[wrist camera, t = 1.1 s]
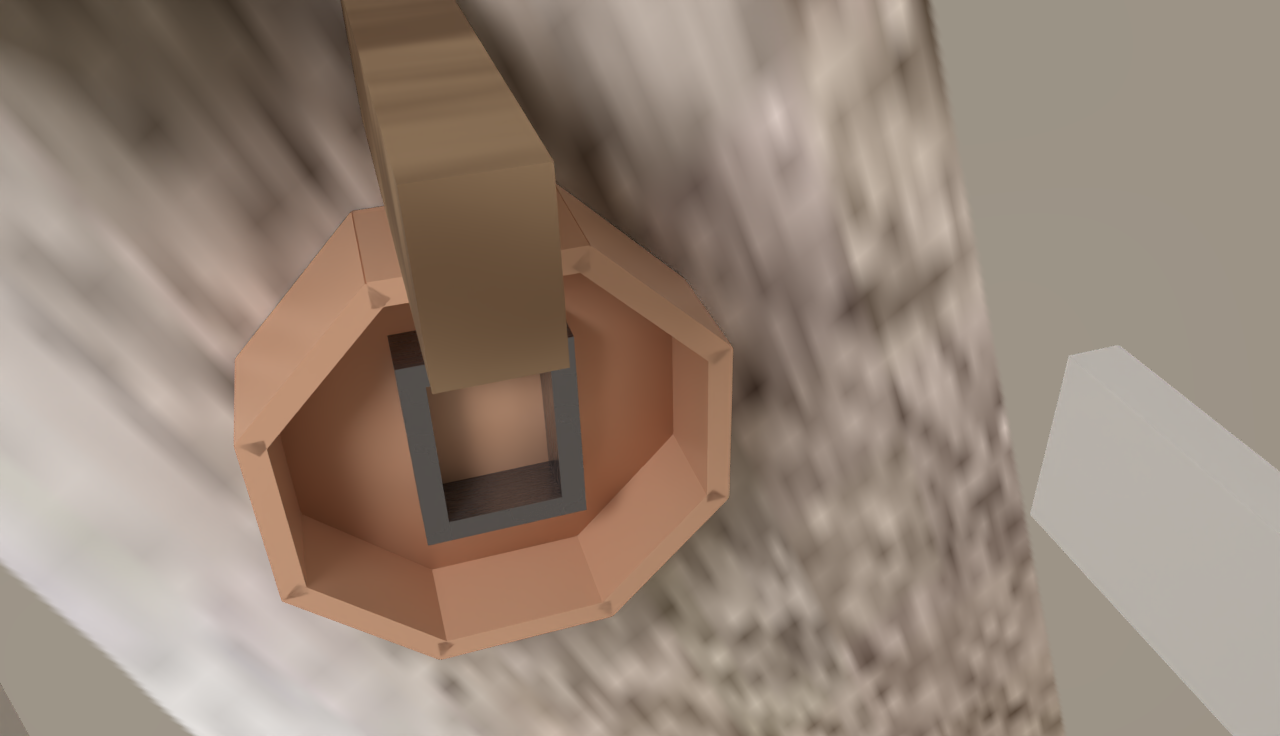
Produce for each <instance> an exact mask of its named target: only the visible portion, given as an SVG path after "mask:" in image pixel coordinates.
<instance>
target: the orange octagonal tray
mask: <svg viewBox="0 0 1280 736" xmlns="http://www.w3.org/2000/svg"><path fill="white" fill-rule="evenodd" d="M556 194H557V207H558V220H559V233H560V246H561V259H562V272H563V285H564V298H565V310H566V321H567V324H568V326H569V328H570V330H571V332H572V334H573V336H574V345H575V359H576V372H577V386H578V399H579V413H580V427H581V440H582V454H583V467H584V481H585V494H586V508H587V510H584V511H579V512H575V513H570V514H566V515H561V516H557V517H553V518H548V519H544V520H539V521H535V522H531V523H526V524H522V525H517V526H513V527H509V528H504V529H500V530H495V531H491V532H486V533H482V534H478V535H473V536H469V537H464V538H460V539H456V540H451V541H447V542H442V543H438V544H433V545H429V546H428V543H427V539H426V534H425V529H424V524H423V519H422V514H421V510H420V505H419V499H418V494H417V489H416V484H415V478H414V473H413V468H412V463H411V458H410V452H409V447H408V442H407V437H406V431H405V426H404V421H403V416H402V410H401V405H400V400H399V395H398V390H397V384H396V379H395V374H394V369H393V363H392V358H391V353H390V348H389V342H388V337H387V335H393V334H398V333H404V332H409V331H415V330H416V328H415V324H414V321H413V317H412V313H411V309H410V305H409V301H408V297H407V293H406V289H405V285H404V281H403V277H402V273H401V270H400V266H399V262H398V258H397V254H396V250H395V246H394V242H393V238H392V234H391V230H390V226H389V222H388V219H387V215H386V211H385V207H384V206H381V207H374V208H368V209H361V210H355V211H352V212H353V213H352V212H350V213H349V215H348V216H347V217H346V219H345V220H344V221H343V222H342V224H341V225H340V226H339V227H338V229H337V230H336V231H335V232H334V234H333V235H332V236H331V238H330V239H329V240H328V241H327V243H326V244H325V245H324V246H323V248H322V249H321V250H320V252H319V253H318V254H317V255H316V257H315V258H314V259H313V260H312V262H311V263H310V264H309V266H308V267H307V268H306V269H305V271H304V272H303V273H302V274H301V276H300V277H299V278H298V279H297V281H296V282H295V283H294V285H293V286H292V287H291V288H290V290H289V291H288V292H287V293H286V295H285V296H284V297H283V299H282V300H281V301H280V302H279V304H278V305H277V306H276V307H275V309H274V310H273V311H272V312H271V314H270V315H269V316H268V318H267V319H266V320H265V321H264V323H263V324H262V325H261V326H260V328H259V329H258V330H257V332H256V333H255V334H254V335H253V337H252V338H251V339H250V340H249V342H248V343H247V344H246V346H245V347H244V348H243V349H242V351H241V352H240V353H239V354H238V356H237V357H236V358H235V396H234V449H235V452H236V455H237V458H238V461H239V465H240V468H241V471H242V474H243V478H244V481H245V484H246V487H247V491H248V494H249V497H250V500H251V503H252V507H253V510H254V513H255V516H256V520H257V523H258V526H259V529H260V533H261V536H262V539H263V542H264V545H265V549H266V552H267V555H268V558H269V562H270V565H271V568H272V571H273V575H274V578H275V581H276V584H277V587H278V591H279V594H280V597H281V600H282V602H285V603H288V604H291V605H293V606H296V607H299V608H301V609H304V610H307V611H309V612H312V613H315V614H318V615H320V616H323V617H326V618H328V619H331V620H334V621H336V622H339V623H342V624H345V625H347V626H350V627H353V628H355V629H358V630H361V631H363V632H366V633H369V634H372V635H374V636H377V637H380V638H382V639H385V640H388V641H390V642H393V643H396V644H399V645H401V646H404V647H407V648H409V649H412V650H415V651H417V652H420V653H423V654H426V655H428V656H431V657H434V658H436V659H439V660H440V659H441V660H442V659H446V658H450V657H454V656H458V655H462V654H466V653H470V652H474V651H478V650H482V649H486V648H489V647H493V646H497V645H501V644H505V643H509V642H513V641H517V640H521V639H525V638H529V637H533V636H537V635H541V634H545V633H549V632H553V631H557V630H561V629H565V628H569V627H573V626H577V625H581V624H585V623H589V622H593V621H597V620H601V619H605V618H609V617H612V616H614V615H615V614H616V612H617V611H618V610H619V609H620V608H621V607H622V606H623V605H624V604H625V603H626V602H627V601H628V600H629V599H630V598H631V597H632V596H633V595H634V594H635V593H636V592H637V591H638V590H639V589H640V588H641V587H642V586H643V585H644V584H645V583H646V582H647V581H648V580H649V579H650V578H651V577H652V576H653V575H654V574H655V573H656V572H657V571H658V570H659V569H660V568H661V567H662V566H663V565H664V564H665V563H666V562H667V561H668V560H669V559H670V558H671V556H672V555H673V554H674V553H675V552H676V551H677V550H678V549H679V548H680V547H681V546H682V545H683V544H684V543H685V542H686V541H687V540H688V539H689V538H690V537H691V536H692V535H693V534H694V533H695V532H696V531H697V530H698V529H699V528H700V527H701V526H702V525H703V524H704V523H705V522H706V521H707V520H708V519H709V518H710V517H711V516H712V515H713V514H714V513H715V512H716V511H717V510H718V509H719V508H720V507H721V506H722V505H723V504H724V503H725V502H726V500H727V499H728V497H729V487H730V450H731V413H732V376H733V347H732V345H731V344H730V342H729V341H728V340H727V338H726V337H725V335H724V334H723V333H722V331H721V330H720V328H719V327H718V326H717V324H716V323H715V321H714V320H713V318H712V317H711V316H710V314H709V313H708V311H707V310H706V309H705V307H704V306H703V304H702V303H701V301H700V300H699V299H698V297H697V296H696V294H695V293H694V292H693V290H692V289H691V287H690V286H689V285H688V283H687V282H686V280H685V279H684V278H683V277H682V276H680V275H679V274H678V273H676V272H675V271H673V270H672V269H671V268H669V267H668V266H667V265H665V264H664V263H663V262H661V261H660V260H659V259H657V258H656V257H655V256H653V255H652V254H651V253H649V252H648V251H647V250H645V249H644V248H643V247H641V246H640V245H638V244H637V243H636V242H634V241H633V240H632V239H630V238H629V237H628V236H626V235H625V234H624V233H622V232H621V231H620V230H618V229H617V228H616V227H614V226H613V225H612V224H610V223H609V222H607V221H606V220H605V219H603V218H602V217H601V216H599V215H598V214H597V213H595V212H594V211H593V210H591V209H590V208H589V207H587V206H586V205H585V204H583V203H582V202H581V201H579V200H578V199H577V198H575V197H574V196H572V195H571V194H570V193H568V192H567V191H566V190H564V189H563V188H562V187H560V186H559V185H558V184H556ZM426 391H427V397H428V403H429V409H430V414H431V420H432V426H433V432H434V438H435V443H436V449H437V455H438V461H439V467H440V472H441V478H442V484H444V483H449V482H453V481H458V480H463V479H467V478H472V477H477V476H481V475H486V474H491V473H496V472H500V471H505V470H510V469H514V468H519V467H524V466H528V465H533V464H538V463H542V462H547V461H549V460H548V450H547V440H546V429H545V419H544V409H543V398H542V388H541V378H540V373H539V374H534V375H529V376H524V377H519V378H514V379H509V380H503V381H498V382H493V383H488V384H483V385H478V386H472V387H467V388H462V389H457V390H452V391H447V392H441V393H436V394H432V391H431V387H426Z"/></svg>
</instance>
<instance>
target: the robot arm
mask: <svg viewBox="0 0 1280 736" xmlns="http://www.w3.org/2000/svg"><path fill="white" fill-rule="evenodd" d="M1030 515H1031V516H1032V517H1033V518H1034V519H1035V520H1036V522H1037V523H1038V524H1039V525H1040V526H1041V527H1042V528H1043V529H1044V530H1045V531H1046V532H1047V534H1048V535H1049V536H1050V537H1051V538H1052V539H1053V540H1054V541H1055V542H1056V543H1057V544H1058V546H1059V547H1060V548H1061V549H1062V550H1063V551H1064V552H1065V553H1066V554H1067V555H1068V556H1069V557H1070V559H1071V560H1072V561H1073V562H1074V563H1075V564H1076V565H1077V566H1078V567H1079V569H1080V570H1081V571H1082V572H1083V573H1084V574H1085V575H1086V576H1087V577H1088V578H1089V579H1090V580H1091V582H1092V583H1093V584H1094V585H1095V586H1096V587H1097V588H1098V589H1099V590H1100V591H1101V593H1102V594H1103V595H1104V596H1105V597H1106V598H1107V599H1108V600H1109V601H1110V602H1111V603H1112V604H1113V606H1114V607H1115V608H1116V609H1117V610H1118V611H1119V612H1120V613H1121V614H1122V615H1123V617H1124V618H1125V619H1126V620H1127V621H1128V622H1129V623H1130V624H1131V625H1132V626H1133V627H1134V629H1135V630H1136V631H1137V632H1138V633H1139V634H1140V635H1141V636H1142V637H1143V638H1144V640H1146V642H1147V643H1148V644H1149V645H1150V646H1151V647H1152V648H1153V649H1154V650H1155V652H1156V653H1157V654H1158V655H1159V656H1160V657H1161V658H1162V659H1163V660H1164V661H1165V662H1166V663H1167V664H1168V666H1169V667H1170V668H1171V669H1172V670H1173V671H1174V672H1175V673H1176V674H1177V676H1178V677H1179V678H1180V679H1181V680H1182V681H1183V682H1184V683H1185V684H1186V685H1187V686H1188V688H1190V690H1191V691H1192V692H1193V693H1194V694H1195V695H1196V696H1197V697H1198V698H1199V700H1200V701H1202V703H1203V704H1204V705H1205V706H1206V707H1207V708H1208V709H1209V710H1210V712H1212V714H1213V715H1214V716H1215V717H1216V718H1217V719H1218V720H1219V721H1220V722H1221V724H1222V725H1223V726H1224V727H1225V728H1226V729H1227V730H1228V731H1229V732H1230V733H1231V735H1232V736H1280V471H1279V470H1277V469H1276V468H1275V467H1273V466H1272V465H1271V464H1270V463H1268V462H1267V461H1266V460H1265V459H1263V458H1262V457H1261V456H1260V455H1258V454H1257V453H1256V452H1254V451H1253V450H1252V449H1251V448H1249V447H1248V446H1247V445H1246V444H1244V443H1243V442H1242V441H1241V440H1239V439H1238V438H1237V437H1235V436H1234V435H1233V434H1232V433H1230V432H1229V431H1228V430H1226V429H1225V428H1224V427H1223V426H1221V425H1220V424H1219V423H1218V422H1216V421H1215V420H1214V419H1213V418H1211V417H1210V416H1209V415H1207V414H1206V413H1205V412H1204V411H1202V410H1201V409H1200V408H1198V407H1197V406H1196V405H1195V404H1194V403H1192V402H1191V401H1190V400H1188V399H1187V398H1186V397H1185V396H1183V395H1182V394H1181V393H1179V392H1178V391H1177V390H1176V389H1174V388H1173V387H1172V386H1171V385H1169V384H1168V383H1167V382H1166V381H1164V380H1163V379H1162V378H1160V377H1159V376H1158V375H1157V374H1155V373H1154V372H1153V371H1152V370H1150V369H1149V368H1148V367H1147V366H1145V365H1144V364H1143V363H1141V362H1140V361H1139V360H1138V359H1136V358H1135V357H1134V356H1133V355H1131V354H1130V353H1129V352H1127V351H1126V350H1125V349H1124V348H1122V347H1121V346H1120V345H1116V346H1112V347H1107V348H1102V349H1097V350H1093V351H1088V352H1084V353H1079V354H1074V355H1070V356H1069V357H1068V362H1067V365H1066V369H1065V374H1064V378H1063V382H1062V386H1061V390H1060V394H1059V398H1058V402H1057V406H1056V410H1055V414H1054V419H1053V423H1052V427H1051V431H1050V435H1049V439H1048V443H1047V447H1046V452H1045V455H1044V459H1043V464H1042V468H1041V472H1040V476H1039V480H1038V484H1037V488H1036V492H1035V496H1034V501H1033V505H1032V509H1031V513H1030ZM0 736H29V734H28V732H27V731H26V729H25V727H24V725H23V723H22V722H21V720H20V718H19V716H18V714H17V712H16V711H15V709H14V707H13V705H12V703H11V702H10V700H9V698H8V696H7V694H6V693H5V691H4V689H3V687H2V685H1V683H0Z"/></svg>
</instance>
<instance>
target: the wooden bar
mask: <svg viewBox="0 0 1280 736" xmlns="http://www.w3.org/2000/svg"><path fill="white" fill-rule="evenodd" d="M341 6H342V11H343V17H344V22H345V28H346V33H347V39H348V44H349V50H350V55H351V61H352V66H353V72H354V77H355V83H356V88H357V94H358V99H359V105H360V110H361V116H362V120H363V124H364V128H365V132H366V136H367V140H368V144H369V148H370V152H371V156H372V160H373V164H374V168H375V171H376V175H377V179H378V183H379V187H380V191H381V195H382V199H383V203H384V207H385V211H386V215H387V219H388V222H389V226H390V230H391V234H392V238H393V242H394V246H395V250H396V254H397V258H398V262H399V266H400V270H401V273H402V277H403V281H404V285H405V289H406V293H407V297H408V301H409V305H410V309H411V313H412V317H413V321H414V324H415V328H416V332H417V336H418V340H419V344H420V348H421V352H422V356H423V360H424V364H425V368H426V372H427V375H428V379H429V383H430V387H431V391H432V394H436V393H441V392H447V391H452V390H457V389H462V388H467V387H472V386H478V385H483V384H488V383H493V382H498V381H503V380H509V379H514V378H519V377H524V376H529V375H534V374H539V373H545V372H550V371H555V370H560V369H565V368H570V362H569V349H568V336H567V323H566V310H565V298H564V285H563V272H562V259H561V246H560V233H559V220H558V207H557V194H556V182H555V169H554V161H553V159H552V158H551V156H550V154H549V153H548V151H547V149H546V148H545V146H544V145H543V143H542V141H541V140H540V138H539V136H538V135H537V133H536V132H535V130H534V128H533V127H532V125H531V123H530V122H529V120H528V118H527V117H526V115H525V114H524V112H523V110H522V109H521V107H520V105H519V104H518V102H517V100H516V99H515V97H514V96H513V94H512V92H511V91H510V89H509V87H508V86H507V84H506V83H505V81H504V79H503V78H502V76H501V74H500V73H499V71H498V69H497V68H496V66H495V65H494V63H493V61H492V60H491V58H490V56H489V55H488V53H487V51H486V50H485V48H484V47H483V45H482V43H481V42H480V40H479V38H478V37H477V35H476V34H475V32H474V30H473V29H472V27H471V25H470V24H469V22H468V20H467V19H466V17H465V16H464V14H463V12H462V11H461V9H460V7H459V6H458V4H457V3H456V1H455V0H341Z"/></svg>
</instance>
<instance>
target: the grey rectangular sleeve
mask: <svg viewBox="0 0 1280 736" xmlns="http://www.w3.org/2000/svg"><path fill="white" fill-rule="evenodd" d="M566 323H567V321H566ZM567 336H568V349H569V362H570V368H565V369H560V370H555V371H550V372H545V373H540V378H541V388H542V398H543V409H544V419H545V429H546V440H547V450H548V460H549V461H547V462H542V463H538V464H533V465H528V466H524V467H519V468H514V469H510V470H505V471H500V472H496V473H491V474H486V475H481V476H477V477H472V478H467V479H463V480H458V481H453V482H449V483H444V484H442V478H441V472H440V467H439V461H438V455H437V449H436V443H435V438H434V432H433V426H432V420H431V414H430V409H429V403H428V397H427V391H426V387H430V383H429V379H428V375H427V372H426V368H425V364H424V360H423V356H422V352H421V348H420V344H419V340H418V336H417V332H416V330H415V331H409V332H404V333H398V334H393V335H387V337H388V342H389V348H390V353H391V358H392V363H393V369H394V374H395V379H396V384H397V390H398V395H399V400H400V405H401V410H402V416H403V421H404V426H405V431H406V437H407V442H408V447H409V452H410V458H411V463H412V468H413V473H414V478H415V484H416V489H417V494H418V499H419V505H420V510H421V514H422V519H423V524H424V529H425V534H426V539H427V543H428V546H429V545H433V544H438V543H442V542H447V541H451V540H456V539H460V538H464V537H469V536H473V535H478V534H482V533H486V532H491V531H495V530H500V529H504V528H509V527H513V526H517V525H522V524H526V523H531V522H535V521H539V520H544V519H548V518H553V517H557V516H561V515H566V514H570V513H575V512H579V511H584V510H587V508H586V494H585V481H584V467H583V454H582V440H581V427H580V413H579V399H578V386H577V372H576V359H575V345H574V336H573V334H572V332H571V330H570V328H569V326H568V324H567Z"/></svg>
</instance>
